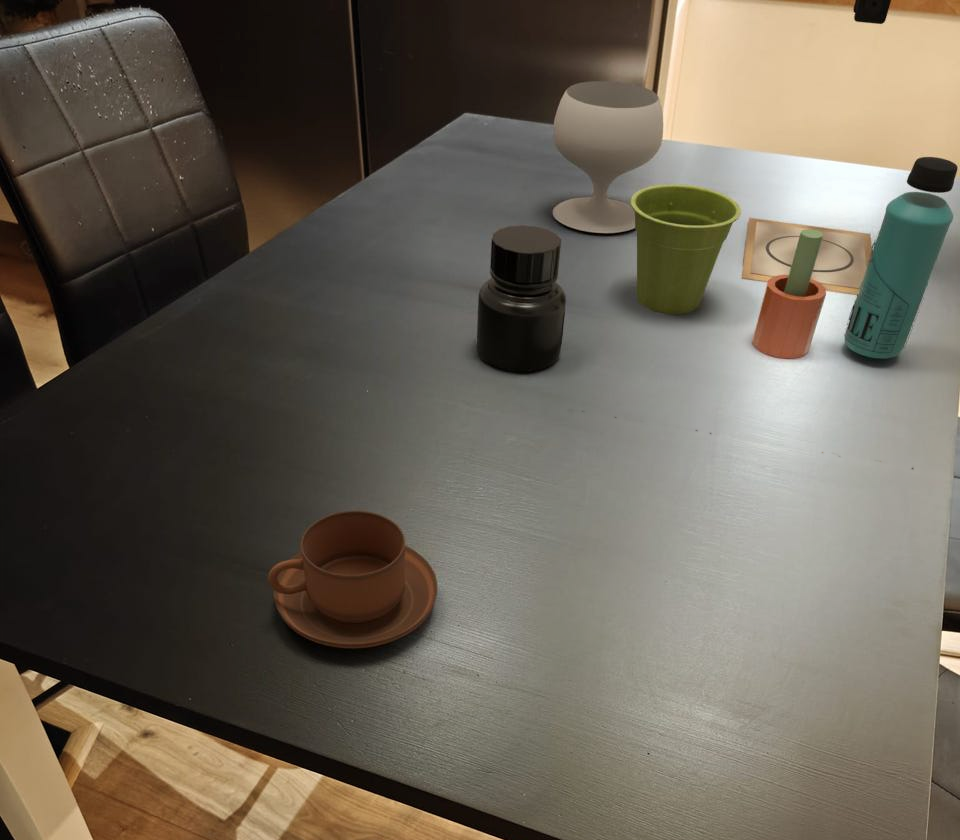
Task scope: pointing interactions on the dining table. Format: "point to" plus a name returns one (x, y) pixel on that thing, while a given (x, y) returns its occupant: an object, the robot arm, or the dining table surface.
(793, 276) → the marker
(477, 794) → the dining table surface
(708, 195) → the plant pot
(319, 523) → the cup and saucer
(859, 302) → the beverage bottle
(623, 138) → the chalice
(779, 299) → the pen cup
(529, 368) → the ink bottle
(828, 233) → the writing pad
